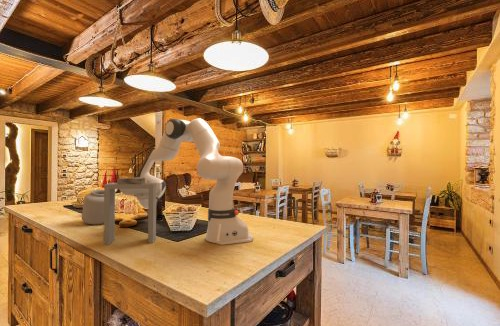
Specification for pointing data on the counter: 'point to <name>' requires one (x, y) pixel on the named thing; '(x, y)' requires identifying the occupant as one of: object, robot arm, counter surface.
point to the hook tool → (131, 180)
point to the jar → (94, 207)
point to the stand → (110, 209)
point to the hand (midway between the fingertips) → (138, 182)
